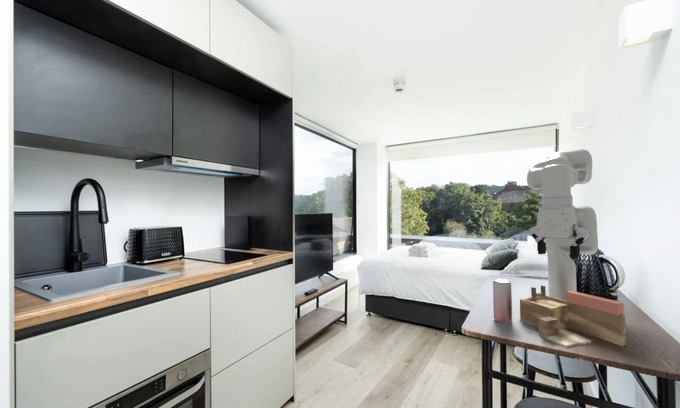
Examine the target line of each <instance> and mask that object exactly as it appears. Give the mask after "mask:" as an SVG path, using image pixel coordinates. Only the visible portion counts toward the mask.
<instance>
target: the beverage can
mask: <svg viewBox="0 0 680 408" xmlns="http://www.w3.org/2000/svg"><path fill="white" fill-rule="evenodd" d="M492 289H493V290H492V296H493V297H492V298H493V299H492V300H493V304H492V305H493V320H494V321H495V322H497V323H499V324H506V325H510V324H511V323H512V322H513V301H512V300H513V298H512V297H513V295H512V282H511V280H509V279H505V278H494V279H493V281H492Z"/></svg>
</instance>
